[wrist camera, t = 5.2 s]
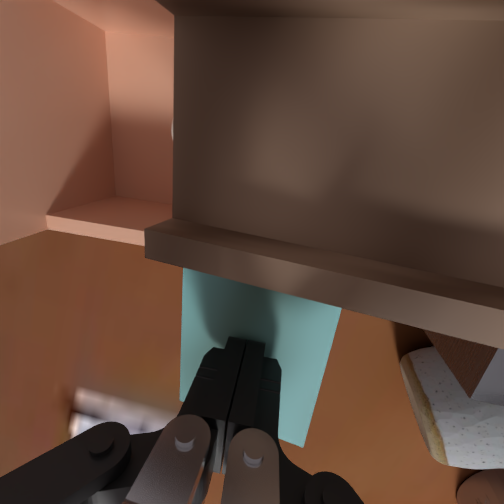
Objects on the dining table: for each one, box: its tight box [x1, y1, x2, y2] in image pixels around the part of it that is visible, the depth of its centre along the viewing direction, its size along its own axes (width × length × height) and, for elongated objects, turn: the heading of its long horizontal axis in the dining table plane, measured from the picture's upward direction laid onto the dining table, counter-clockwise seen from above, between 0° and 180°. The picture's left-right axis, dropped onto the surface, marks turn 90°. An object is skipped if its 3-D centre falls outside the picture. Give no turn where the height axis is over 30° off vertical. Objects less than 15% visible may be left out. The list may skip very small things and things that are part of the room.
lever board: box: [144, 0, 504, 447], centre depth 11 cm, size 20×16×10 cm
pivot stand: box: [423, 329, 504, 406], centre depth 12 cm, size 3×13×12 cm, turn 173°
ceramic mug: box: [400, 346, 504, 469], centre depth 19 cm, size 11×8×8 cm
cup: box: [0, 0, 174, 246], centre depth 12 cm, size 12×12×16 cm
